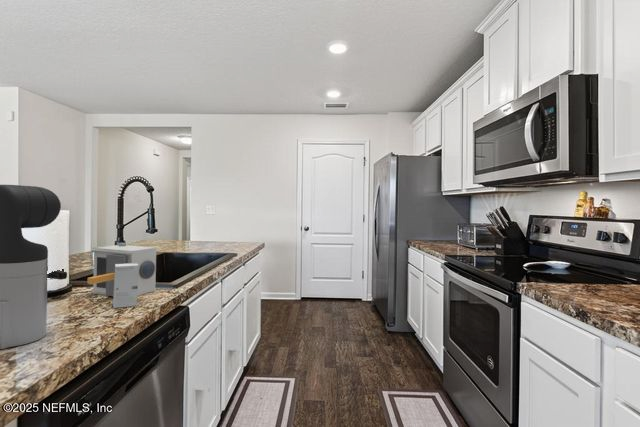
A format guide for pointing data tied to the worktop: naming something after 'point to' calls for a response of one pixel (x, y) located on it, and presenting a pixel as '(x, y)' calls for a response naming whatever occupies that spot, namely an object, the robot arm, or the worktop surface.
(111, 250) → the grey box with disc
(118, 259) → the hatch
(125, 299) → the skincare box
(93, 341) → the worktop surface
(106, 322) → the worktop surface
